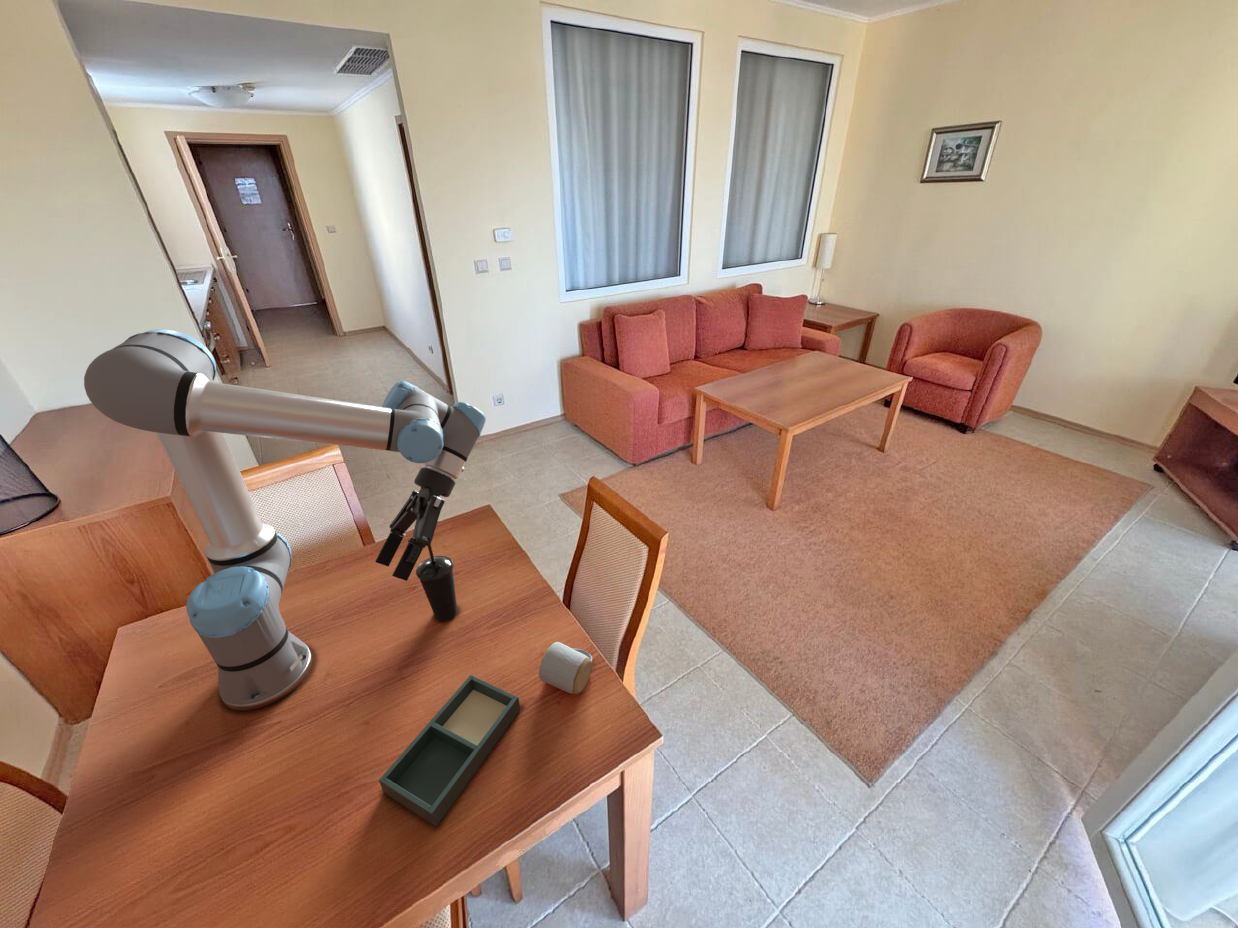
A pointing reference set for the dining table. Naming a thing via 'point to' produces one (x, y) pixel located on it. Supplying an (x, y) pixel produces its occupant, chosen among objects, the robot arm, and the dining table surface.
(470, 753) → the divided tray
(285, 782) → the dining table surface
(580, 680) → the ceramic mug
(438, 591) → the drinking cup
